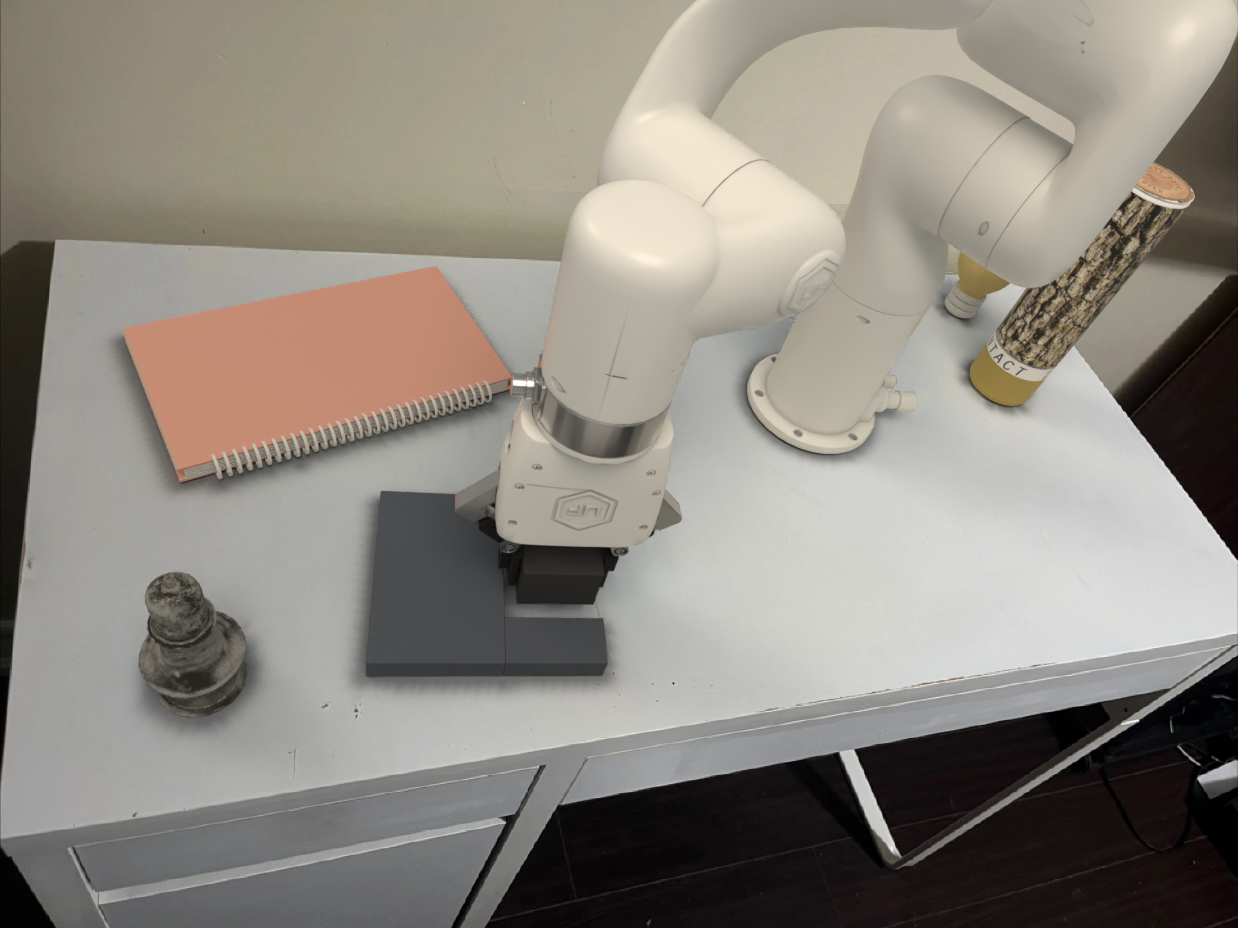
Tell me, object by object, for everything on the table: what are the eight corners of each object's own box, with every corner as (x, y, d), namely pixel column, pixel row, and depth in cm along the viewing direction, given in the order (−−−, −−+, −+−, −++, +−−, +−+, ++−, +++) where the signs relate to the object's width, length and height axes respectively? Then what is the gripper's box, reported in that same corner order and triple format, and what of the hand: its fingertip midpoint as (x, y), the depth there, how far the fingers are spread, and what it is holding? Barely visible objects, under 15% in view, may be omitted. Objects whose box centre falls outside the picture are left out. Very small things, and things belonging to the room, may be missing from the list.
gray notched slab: (586, 514, 69) (591, 499, 68) (602, 676, 60) (608, 663, 59) (380, 506, 66) (380, 490, 64) (366, 677, 57) (365, 663, 55)
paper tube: (1003, 361, 95) (1158, 157, 76) (1039, 406, 91) (1211, 203, 72) (954, 365, 92) (1101, 156, 73) (989, 412, 88) (1153, 203, 70)
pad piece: (587, 540, 65) (597, 509, 62) (593, 605, 61) (604, 575, 58) (514, 538, 63) (520, 506, 60) (516, 604, 60) (523, 573, 57)
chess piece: (209, 619, 57) (177, 513, 48) (272, 673, 56) (252, 574, 47) (128, 682, 53) (78, 580, 44) (194, 741, 52) (155, 648, 43)
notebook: (185, 495, 63) (180, 478, 61) (125, 343, 70) (120, 325, 69) (516, 399, 76) (518, 383, 74) (435, 279, 83) (436, 263, 82)
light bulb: (970, 294, 102) (1017, 223, 94) (992, 331, 98) (1043, 260, 90) (923, 290, 100) (967, 218, 93) (943, 327, 96) (990, 255, 89)
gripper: (445, 439, 44) (430, 614, 58) (758, 457, 48) (675, 617, 62) (448, 339, 49) (434, 522, 62) (733, 362, 53) (661, 530, 66)
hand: (554, 568), depth 62 cm, fingers closed on pad piece, 5 cm apart
